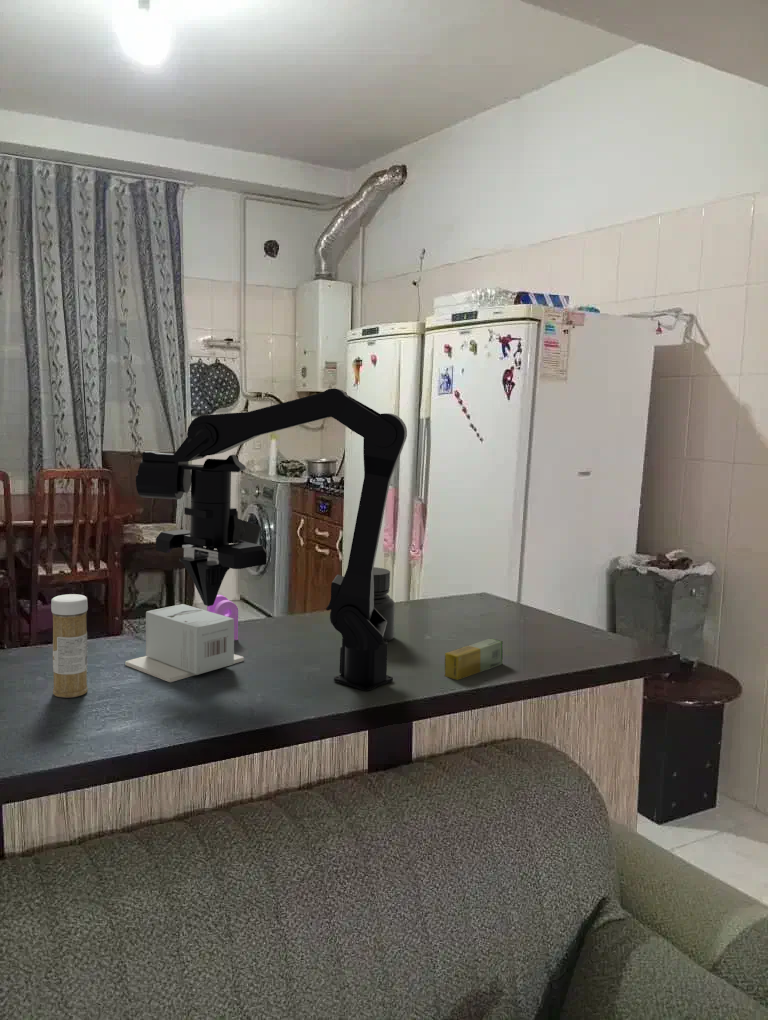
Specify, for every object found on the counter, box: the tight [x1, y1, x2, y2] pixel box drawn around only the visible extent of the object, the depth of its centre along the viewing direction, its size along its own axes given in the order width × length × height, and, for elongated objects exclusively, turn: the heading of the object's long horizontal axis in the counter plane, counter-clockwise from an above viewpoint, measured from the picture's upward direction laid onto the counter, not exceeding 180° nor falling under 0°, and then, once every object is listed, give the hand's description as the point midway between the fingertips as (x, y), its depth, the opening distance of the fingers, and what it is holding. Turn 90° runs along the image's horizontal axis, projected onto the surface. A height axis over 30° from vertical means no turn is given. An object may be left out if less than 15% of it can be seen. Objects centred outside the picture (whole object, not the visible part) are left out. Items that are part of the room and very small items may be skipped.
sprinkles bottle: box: [50, 593, 89, 699], centre depth 110 cm, size 5×5×13 cm
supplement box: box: [145, 603, 235, 676], centre depth 124 cm, size 7×7×13 cm
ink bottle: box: [373, 566, 396, 642], centre depth 142 cm, size 10×9×12 cm
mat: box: [124, 653, 245, 683], centre depth 125 cm, size 11×14×1 cm
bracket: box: [206, 594, 239, 641], centre depth 137 cm, size 13×6×7 cm, turn 119°
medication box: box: [444, 638, 504, 681], centre depth 127 cm, size 12×3×4 cm, turn 137°
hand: (208, 605), depth 121 cm, fingers closed
